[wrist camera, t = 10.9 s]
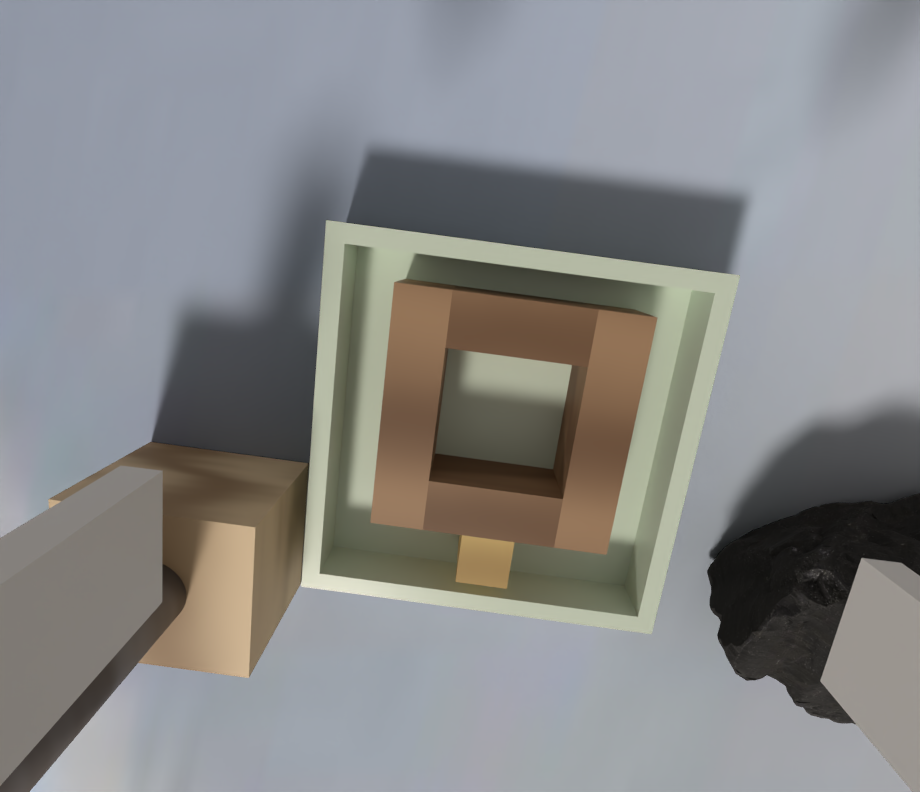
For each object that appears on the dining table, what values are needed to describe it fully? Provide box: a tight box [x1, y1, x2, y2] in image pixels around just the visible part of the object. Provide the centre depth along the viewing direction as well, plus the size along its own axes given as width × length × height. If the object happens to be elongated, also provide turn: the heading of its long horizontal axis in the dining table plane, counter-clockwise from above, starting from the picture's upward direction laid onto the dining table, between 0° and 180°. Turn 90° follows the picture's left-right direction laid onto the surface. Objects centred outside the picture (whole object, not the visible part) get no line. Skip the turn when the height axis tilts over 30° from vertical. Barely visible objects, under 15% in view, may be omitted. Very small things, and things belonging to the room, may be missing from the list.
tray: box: [301, 220, 740, 634], centre depth 23 cm, size 14×14×3 cm
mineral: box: [707, 494, 920, 724], centre depth 22 cm, size 10×9×6 cm
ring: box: [370, 279, 658, 589], centre depth 22 cm, size 11×9×3 cm
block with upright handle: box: [0, 442, 309, 792], centre depth 19 cm, size 7×6×14 cm
